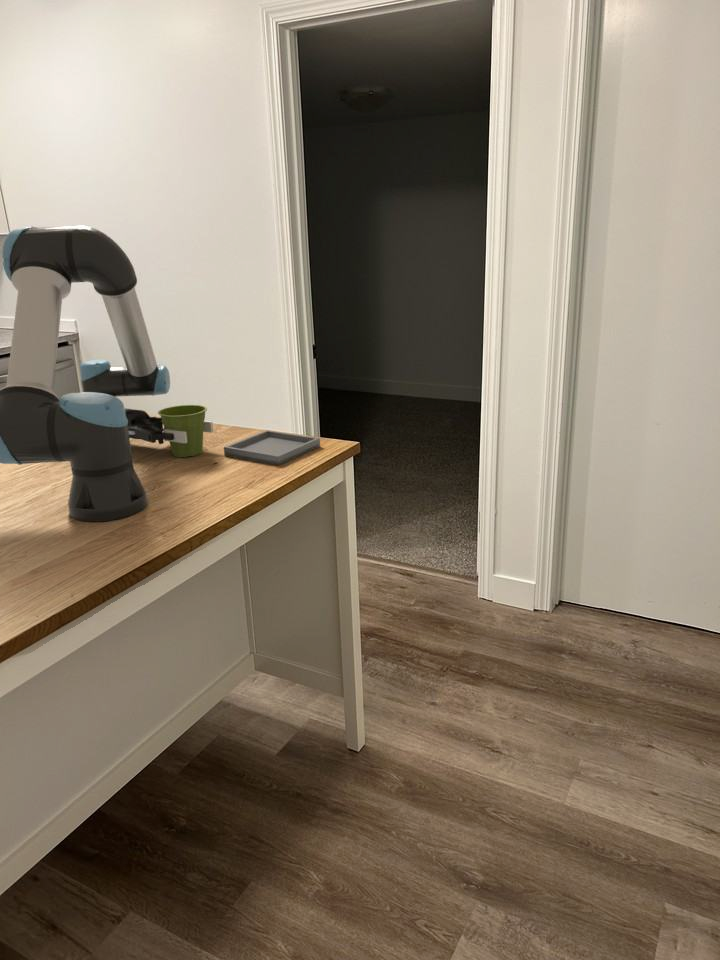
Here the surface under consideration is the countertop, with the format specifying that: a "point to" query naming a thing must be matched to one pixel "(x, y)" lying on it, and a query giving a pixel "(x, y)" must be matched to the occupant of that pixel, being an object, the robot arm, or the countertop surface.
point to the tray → (272, 447)
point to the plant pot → (185, 427)
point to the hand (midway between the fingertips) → (199, 432)
